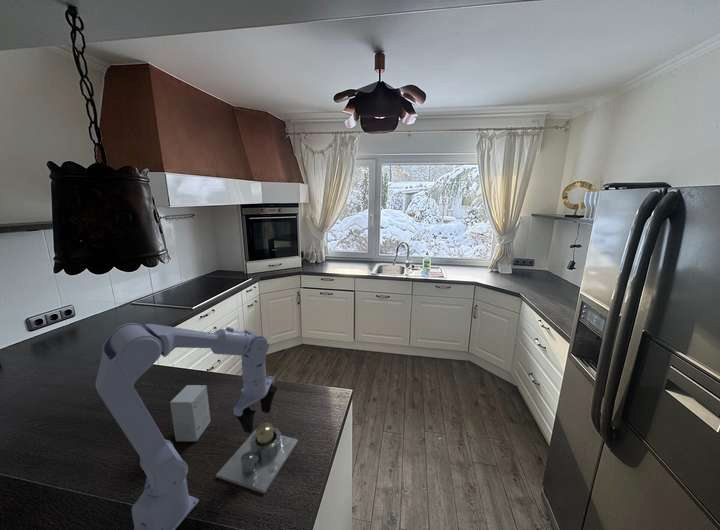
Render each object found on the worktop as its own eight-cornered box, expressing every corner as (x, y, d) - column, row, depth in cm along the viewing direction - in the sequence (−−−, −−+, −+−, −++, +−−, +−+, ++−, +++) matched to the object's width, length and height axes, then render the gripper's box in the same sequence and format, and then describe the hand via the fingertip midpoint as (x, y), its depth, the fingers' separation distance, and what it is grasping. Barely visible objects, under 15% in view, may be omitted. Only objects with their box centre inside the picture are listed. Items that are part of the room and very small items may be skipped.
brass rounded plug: (267, 455, 77) (266, 436, 76) (254, 450, 78) (252, 432, 77) (277, 442, 81) (275, 424, 80) (264, 438, 83) (262, 420, 81)
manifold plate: (264, 493, 68) (263, 477, 67) (216, 477, 72) (214, 461, 71) (297, 442, 83) (297, 427, 82) (256, 430, 87) (255, 416, 86)
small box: (191, 421, 90) (186, 384, 88) (211, 421, 90) (207, 384, 88) (174, 441, 82) (169, 402, 80) (196, 442, 82) (191, 402, 80)
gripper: (259, 360, 83) (261, 401, 86) (221, 389, 70) (225, 437, 72) (280, 364, 81) (282, 406, 84) (245, 395, 68) (249, 444, 70)
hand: (257, 421), depth 78 cm, fingers open, 7 cm apart
